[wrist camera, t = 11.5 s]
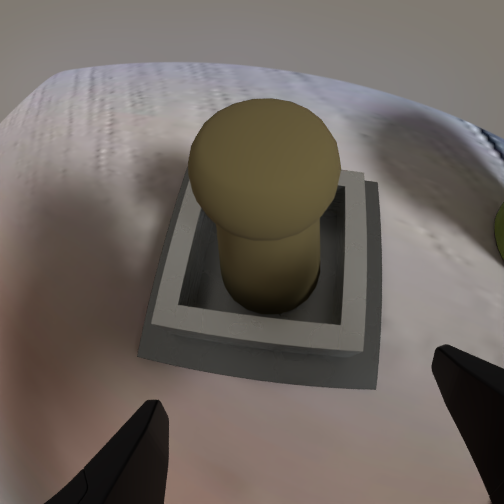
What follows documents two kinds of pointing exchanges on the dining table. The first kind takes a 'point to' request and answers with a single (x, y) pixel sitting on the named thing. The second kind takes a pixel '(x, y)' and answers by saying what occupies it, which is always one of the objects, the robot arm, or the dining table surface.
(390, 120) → the dining table surface
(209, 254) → the steel collar socket
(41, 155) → the dining table surface
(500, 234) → the plant pot
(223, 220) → the olive knobbed peg
